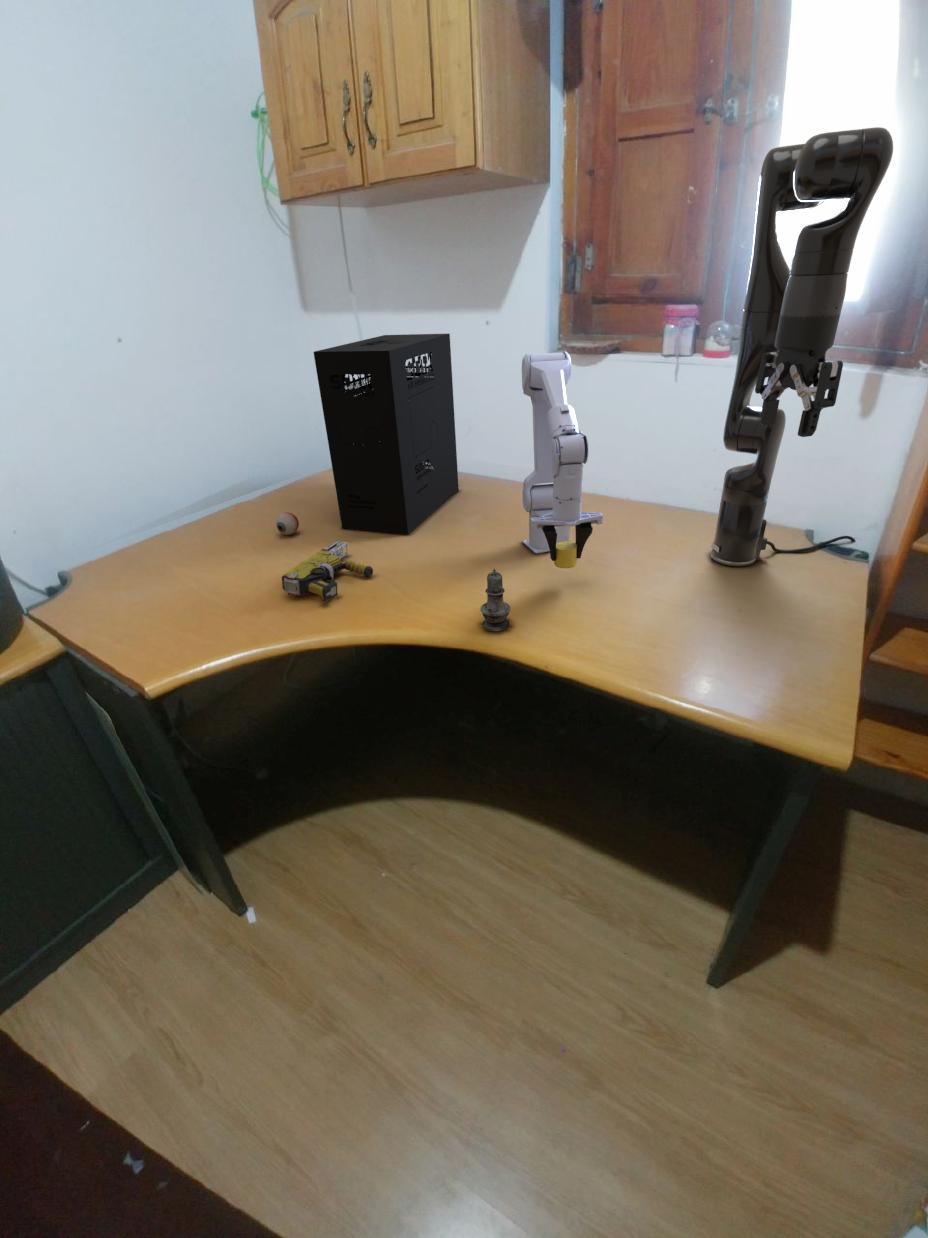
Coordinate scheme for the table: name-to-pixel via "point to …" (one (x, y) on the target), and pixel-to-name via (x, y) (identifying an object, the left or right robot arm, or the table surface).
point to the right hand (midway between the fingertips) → (785, 429)
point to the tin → (566, 555)
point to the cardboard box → (390, 429)
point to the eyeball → (287, 523)
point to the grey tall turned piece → (495, 604)
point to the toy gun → (321, 572)
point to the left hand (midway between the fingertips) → (565, 557)
